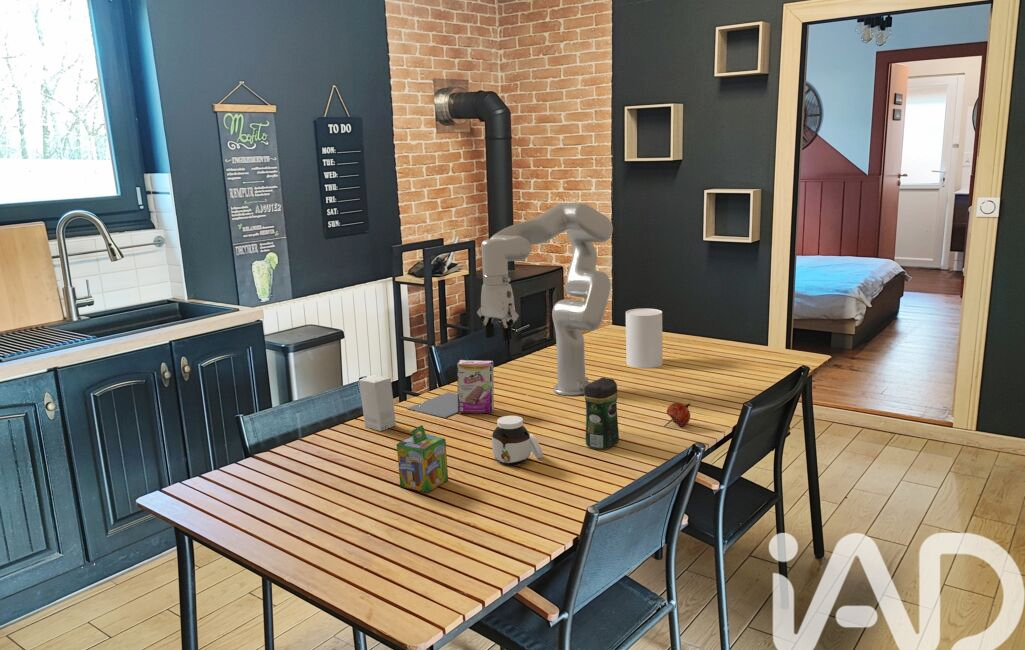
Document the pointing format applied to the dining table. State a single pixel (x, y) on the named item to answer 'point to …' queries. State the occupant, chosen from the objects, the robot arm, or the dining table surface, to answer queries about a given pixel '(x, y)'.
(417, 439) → the chalk box
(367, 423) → the skincare box
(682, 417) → the pomegranate
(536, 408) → the dining table surface
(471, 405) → the candy bar box
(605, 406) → the coffee jar
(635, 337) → the canister
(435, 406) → the slate mat
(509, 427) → the spread jar
